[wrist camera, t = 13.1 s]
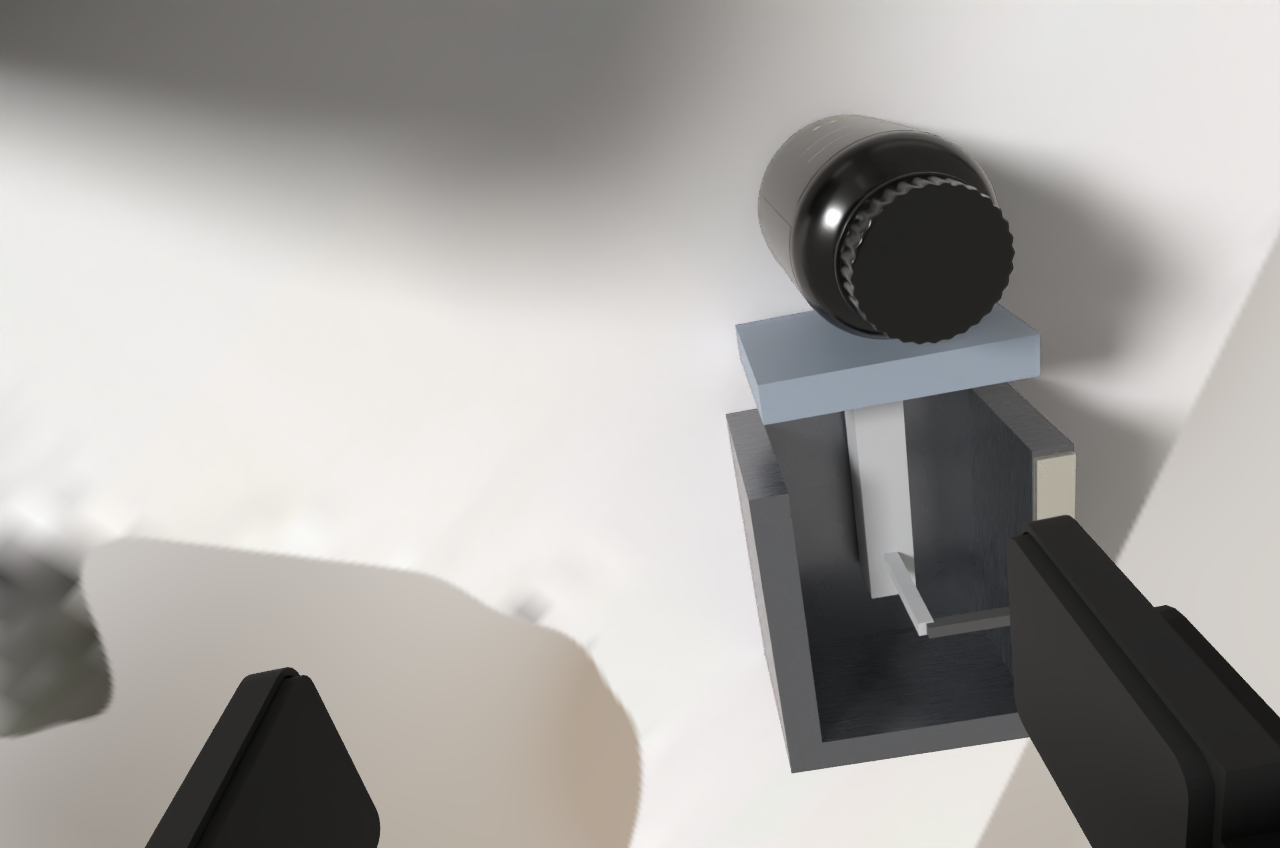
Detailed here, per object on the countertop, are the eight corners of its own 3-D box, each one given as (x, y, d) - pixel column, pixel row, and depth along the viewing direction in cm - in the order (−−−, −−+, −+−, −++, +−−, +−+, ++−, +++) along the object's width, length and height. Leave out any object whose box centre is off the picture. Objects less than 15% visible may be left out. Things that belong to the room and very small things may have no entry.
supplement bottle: (933, 250, 37) (1065, 344, 26) (778, 299, 38) (841, 409, 27) (903, 85, 34) (1035, 112, 23) (736, 142, 35) (787, 192, 24)
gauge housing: (725, 414, 40) (749, 505, 32) (989, 367, 39) (1078, 448, 31) (764, 654, 45) (793, 779, 38) (995, 617, 45) (1071, 737, 37)
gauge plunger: (735, 325, 37) (765, 404, 29) (1015, 272, 37) (1124, 340, 29) (772, 569, 43) (805, 693, 35) (1018, 528, 42) (1111, 645, 34)
